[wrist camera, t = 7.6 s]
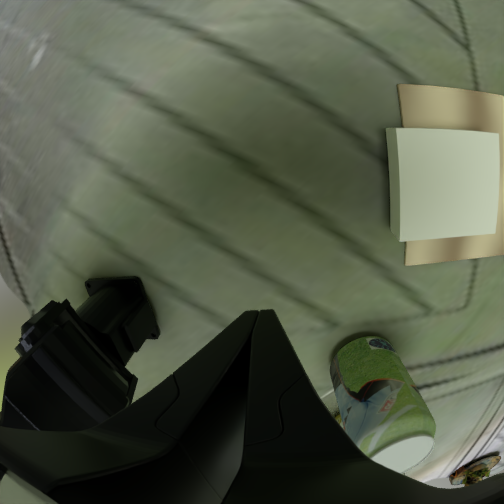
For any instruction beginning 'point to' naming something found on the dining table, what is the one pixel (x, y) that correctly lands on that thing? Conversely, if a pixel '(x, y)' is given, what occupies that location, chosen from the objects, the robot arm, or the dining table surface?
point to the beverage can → (381, 404)
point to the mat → (464, 118)
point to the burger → (474, 471)
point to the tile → (442, 182)
